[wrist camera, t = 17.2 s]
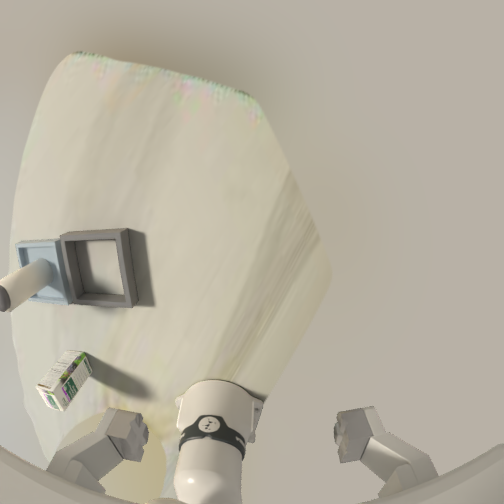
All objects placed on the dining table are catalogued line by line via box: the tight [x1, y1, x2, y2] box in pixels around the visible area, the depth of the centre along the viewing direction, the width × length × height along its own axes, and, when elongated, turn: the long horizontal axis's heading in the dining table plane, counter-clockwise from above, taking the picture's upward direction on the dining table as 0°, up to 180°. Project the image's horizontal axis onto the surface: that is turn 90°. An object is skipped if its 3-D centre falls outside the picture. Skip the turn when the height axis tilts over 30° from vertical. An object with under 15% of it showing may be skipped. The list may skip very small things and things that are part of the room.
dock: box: [60, 228, 139, 308], centre depth 44 cm, size 13×13×3 cm
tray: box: [15, 239, 73, 305], centre depth 45 cm, size 13×13×2 cm
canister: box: [0, 258, 54, 312], centre depth 38 cm, size 6×6×14 cm
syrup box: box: [36, 350, 92, 411], centre depth 45 cm, size 6×6×14 cm
